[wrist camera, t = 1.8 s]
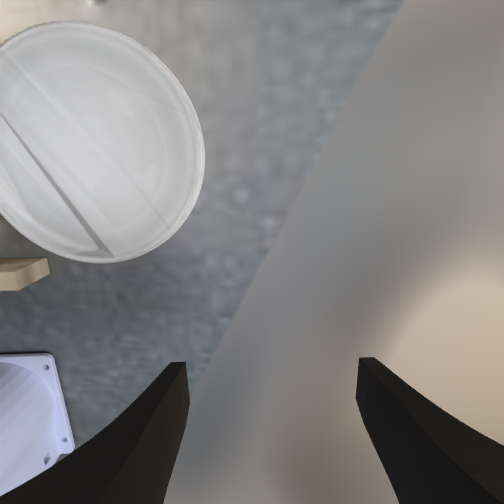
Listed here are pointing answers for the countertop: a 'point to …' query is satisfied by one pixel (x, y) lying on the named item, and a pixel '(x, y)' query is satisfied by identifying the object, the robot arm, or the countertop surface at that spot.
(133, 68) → the ramekin
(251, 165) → the countertop surface
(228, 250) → the countertop surface
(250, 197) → the countertop surface
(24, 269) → the birch dock
